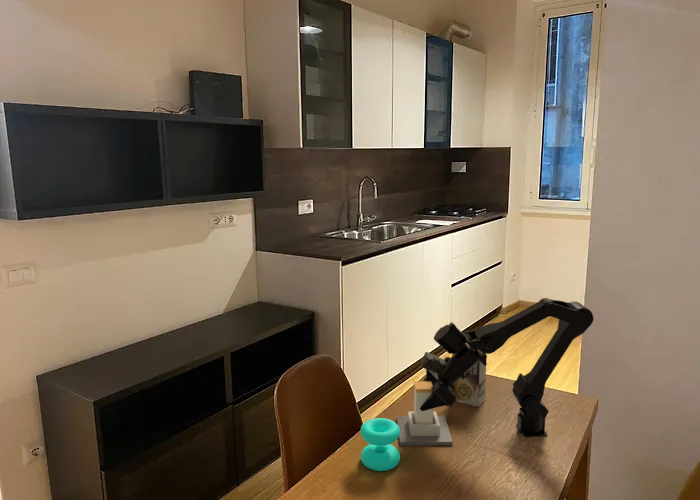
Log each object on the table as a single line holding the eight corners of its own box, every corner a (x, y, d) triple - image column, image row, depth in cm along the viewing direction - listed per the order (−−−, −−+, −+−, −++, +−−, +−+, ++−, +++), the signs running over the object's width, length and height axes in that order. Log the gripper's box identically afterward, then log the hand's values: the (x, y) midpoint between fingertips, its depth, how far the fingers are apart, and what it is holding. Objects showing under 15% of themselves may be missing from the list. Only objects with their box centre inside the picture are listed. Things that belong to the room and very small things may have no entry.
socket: (444, 418, 159) (444, 406, 159) (452, 445, 146) (452, 431, 145) (396, 419, 160) (396, 406, 159) (400, 445, 146) (400, 431, 145)
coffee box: (485, 399, 171) (487, 350, 168) (478, 407, 166) (480, 357, 163) (458, 392, 176) (459, 345, 173) (450, 400, 171) (451, 352, 167)
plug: (430, 423, 155) (431, 381, 152) (433, 432, 150) (433, 389, 148) (413, 424, 155) (413, 381, 152) (415, 433, 150) (415, 389, 148)
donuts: (352, 427, 136) (376, 412, 144) (352, 463, 138) (376, 446, 146) (384, 440, 130) (407, 424, 138) (384, 478, 132) (407, 459, 140)
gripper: (434, 332, 157) (396, 368, 159) (444, 358, 138) (400, 398, 141) (461, 358, 158) (423, 393, 161) (474, 386, 140) (431, 426, 142)
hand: (419, 401), depth 151 cm, fingers open, 9 cm apart
